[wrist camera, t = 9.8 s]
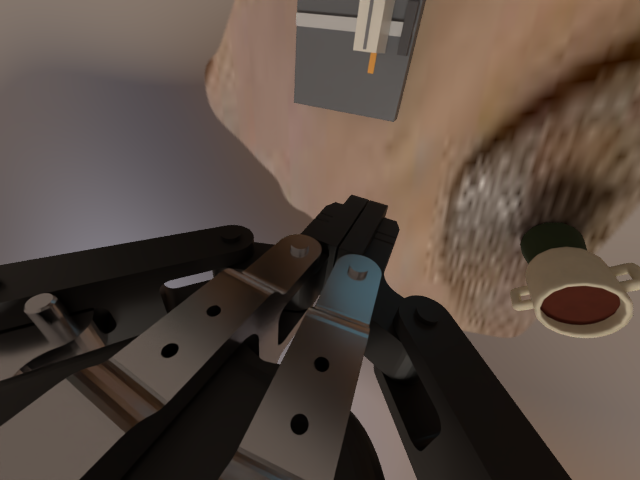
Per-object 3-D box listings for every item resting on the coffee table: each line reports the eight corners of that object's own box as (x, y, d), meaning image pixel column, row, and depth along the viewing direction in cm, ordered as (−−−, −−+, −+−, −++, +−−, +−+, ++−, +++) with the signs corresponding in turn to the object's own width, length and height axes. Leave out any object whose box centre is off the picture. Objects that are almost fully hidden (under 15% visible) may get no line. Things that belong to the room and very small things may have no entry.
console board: (309, -89, 29) (290, -107, 26) (448, -92, 25) (445, -113, 22) (300, 100, 39) (286, 104, 36) (396, 118, 36) (390, 125, 32)
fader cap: (372, -2, 28) (360, -9, 25) (395, 0, 27) (386, -7, 24) (364, 50, 31) (352, 50, 27) (384, 53, 30) (375, 53, 27)
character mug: (513, 273, 40) (529, 345, 30) (491, 235, 38) (500, 297, 28) (615, 247, 33) (679, 329, 23) (593, 200, 32) (652, 265, 22)
